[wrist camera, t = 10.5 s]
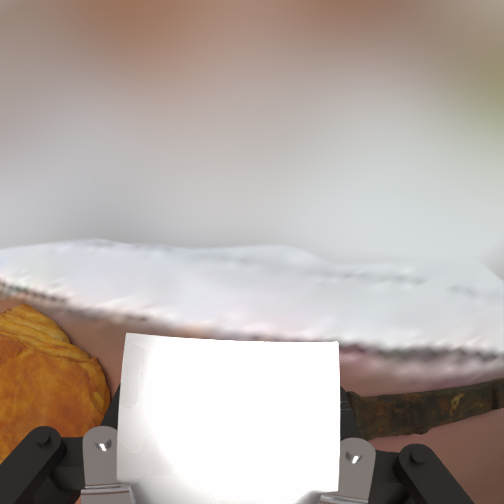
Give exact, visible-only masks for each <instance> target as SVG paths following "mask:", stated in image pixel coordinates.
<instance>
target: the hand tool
mask: <svg viewBox="0 0 504 504" xmlns="http://www.w3.org/2000/svg"><path fill="white" fill-rule="evenodd" d="M346 395H347V397H348V402H349V403H350V405H351V410H352V411H353V414H354V416H355V419H356V422H357V425H358V428H359V430H360V433H361V436H362V438H363V440H366V441H368V440H371V439H373V438H376V437H385V436H397V435H402V434H404V435H410V434H412V433H414V434H420V435H421V434H424V433H427V431H428V430H429V429H431V428H433V427H436V426H440V425H444V424H448V423H452V422H456V421H459V420H462V419H466V418H469V417H472V416H475V415H479V414H483V413H486V412H489V411H491V410H495V409H500V408H504V378H500V379H495V380H492V381H489V382H484V383H479V384H474V385H469V386H461V387H453V388H446V389H440V390H432V391H426V392H415V393H406V394H394V395H381V396H376V397H365V398H362V397H360V396H359V395H358V394H356V393H354V392H352V391H348V392H346Z"/></svg>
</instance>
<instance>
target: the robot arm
mask: <svg viewBox="0 0 504 504" xmlns="http://www.w3.org/2000/svg"><path fill="white" fill-rule="evenodd" d="M120 386H121V383H120V385H119V387H118V389H117V392H116V393H115V395H114V398H113V399H112V401H111V403H110V405H109V407H108V410H107V412H106V414H105V416H104V418H103V420H102V422H101V425H100V426H98V427H94V428H92V429H90V430H89V431H88V432H87V433H86V434H85V435H84V436H83V437H61V435H60V433H59V432H58V431H57V430H56V429H54V428H52V427H50V426H39V427H36V428H34V429H33V430H31V431H30V432H29V433H28V434H27V436H26V437H25V438H24V439H23V440H22V441H21V442H20V443H19V444H18V445H17V446H16V447H15V449H14V450H13V451H12V452H11V453H10V454H9V455H8V456H7V457H6V458H5V460H4V461H3V462H2V463H1V464H0V504H75V502H76V501H77V499H78V498H79V496H80V495H81V503H82V504H137V501H136V499H135V496H134V493H133V489H132V486H131V483H129V482H123V481H118V480H117V434H118V414H119V399H120ZM317 504H474V503H473V501H472V500H471V499H470V497H469V496H468V495H467V494H466V492H465V491H464V490H463V489H462V487H461V486H460V485H459V483H458V482H457V481H456V480H455V478H454V477H453V476H452V475H451V473H450V472H449V471H448V470H447V468H446V467H445V466H444V465H443V463H442V462H441V461H440V460H439V458H438V457H437V456H436V455H435V453H434V452H433V451H432V450H431V449H430V448H429V447H427V446H425V445H422V444H410V445H407V446H405V447H404V448H403V449H402V450H401V452H400V453H395V452H384V451H379V450H376V449H374V447H373V446H372V445H371V444H370V443H369V442H367V441H366V440H363V438H362V436H361V433H360V430H359V428H358V425H357V422H356V419H355V416H354V414H353V411H352V410H351V405H350V403H349V402H348V397H347V395H346V392H345V390H344V389H343V388H342V387H341V386H340V452H339V481H338V491H334V492H322V493H321V495H320V498H319V500H318V503H317Z"/></svg>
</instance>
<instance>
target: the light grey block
mask: <svg viewBox="0 0 504 504" xmlns="http://www.w3.org/2000/svg"><path fill="white" fill-rule="evenodd" d="M339 452H340V384H339V353H338V342H245V341H222V340H204V339H189V338H176V337H164V336H153V335H143V334H134V333H126V339H125V347H124V356H123V365H122V375H121V386H120V399H119V414H118V434H117V480H118V481H123V482H129V483H131V486H132V489H133V493H134V496H135V499H136V501H137V504H317V503H318V500H319V498H320V495H321V493H322V492H334V491H338V481H339Z"/></svg>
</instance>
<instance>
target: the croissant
mask: <svg viewBox="0 0 504 504" xmlns="http://www.w3.org/2000/svg"><path fill="white" fill-rule="evenodd" d="M109 404H110V394H109V388H108V386H107V383H106V381H105V375H104V373H103V370H102V368H101V366H100V364H99V363H98V360H97V358H96V357H93V358H91V357H90V356H89V355H88V353H87V352H84V351H83V350H81V349H80V348H78V347H76V346H74V345H72V344H70V341H69V338H68V337H67V336H66V334H65V332H63V331H62V329H61V327H58V325H57V324H56V322H55V321H53V320H52V319H50V318H49V317H47V316H45V315H43V314H42V313H40V312H38V311H37V310H35V309H34V308H32V307H31V306H29V305H26V304H22V305H19V306H16V307H14V308H13V309H7V311H5V312H2V313H0V464H1V463H2V462H3V461H4V460H5V458H6V457H7V456H8V455H9V454H10V453H11V452H12V451H13V450H14V449H15V447H16V446H17V445H18V444H19V443H20V442H21V441H22V440H23V439H24V438H25V437H26V436H27V434H28V433H29V432H30V431H31V430H33V429H34V428H36V427H39V426H50V427H52V428H54V429H56V430H57V431H58V432H59V433H60V435H61V437H83V436H84V435H85V434H86V433H87V432H88V431H89V430H90V429H92V428H94V427H98V426H100V425H101V422H102V420H103V418H104V416H105V414H106V412H107V410H108V407H109Z"/></svg>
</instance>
